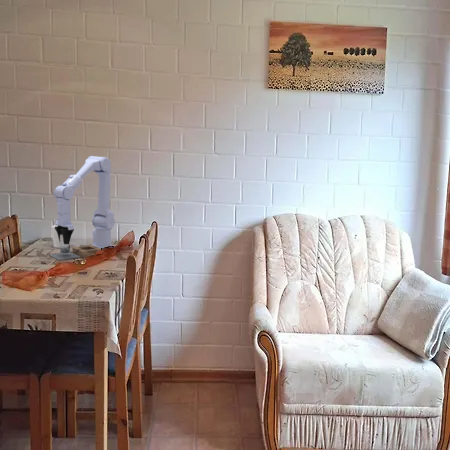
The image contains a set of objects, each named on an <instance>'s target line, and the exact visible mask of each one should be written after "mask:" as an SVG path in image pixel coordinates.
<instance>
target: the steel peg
mask: <svg viewBox="0 0 450 450" xmlns="http://www.w3.org/2000/svg"><path fill="white" fill-rule="evenodd" d="M70 242H71V241H70ZM70 242H69V244H64V242H63V235H62V234H60V248H59V250H60V253H69V252H71V247H70V246H71V245H70Z"/></svg>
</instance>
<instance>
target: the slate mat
mask: <svg viewBox="0 0 450 450" xmlns="http://www.w3.org/2000/svg"><path fill="white" fill-rule="evenodd" d="M49 256H50V257H51V258H53V259H55V260H57V261H64V260H71V259H78V258H81V256H79V255H76V254H74V253H72V251H70V252H69V253H61V252H60V253H54V254H49Z"/></svg>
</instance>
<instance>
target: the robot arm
mask: <svg viewBox="0 0 450 450" xmlns="http://www.w3.org/2000/svg"><path fill="white" fill-rule="evenodd" d="M111 171H112V160H110V158H108V157H107V156H94V155H90V156H88V158H86V159H85V162H84V164H83V165H82V166H81V168H80V169H79V170H78V171H77V173H76V174H70V175H68V178H67V179H65V181H64V182H63V183H62V184H61V185H57V186H56V188H55V189H54V191H53V196H54V197H55V202H56V210H57V211H56V214H57V215H56V217H57V220H54V225H58V227H55V230H56V232H57V234H58V238H59V241H60V234H62V235H63V242H64V244H69V242H71V239H72V235H73V233H74V230H75V229H74V224H73V223H72V221H71V220H72V219H71V217H72V215H71V214H72V212H71V209H72V208H71V204H72V202H71V200H72V199H73V197H74V195H75V192H76V190H77V189H78V188H79V187H80V186H81V185H82V183H83V182H82V180H83V179H84V178H86V177H87V176H88V175H89V174H90V173H91V172H94V173H96V174H97V176H98V196H97V209H96V210H94V211H93V216H92V219H91V223H92V225H93V227H94V229H93V231H92V243H91V244H90V245H94V246H96V247H98V248H102V249H105V248H104V247H107V246H114V245H113V244H112V229H113V227H114V225H115V223H116V222H115V217H114V216H115V213H114V212H113V211H112V210H111V209H110V202H111V181H112V180H111V179H112V172H111Z"/></svg>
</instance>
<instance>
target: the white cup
mask: <svg viewBox="0 0 450 450" xmlns="http://www.w3.org/2000/svg"><path fill="white" fill-rule="evenodd" d="M55 227H58V225H55V224H54V225H51V235H52V243H53V244H52V245H53V247H54V248H58V249H60V241H59V238H58V234H57V232H56V230H55Z"/></svg>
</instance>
